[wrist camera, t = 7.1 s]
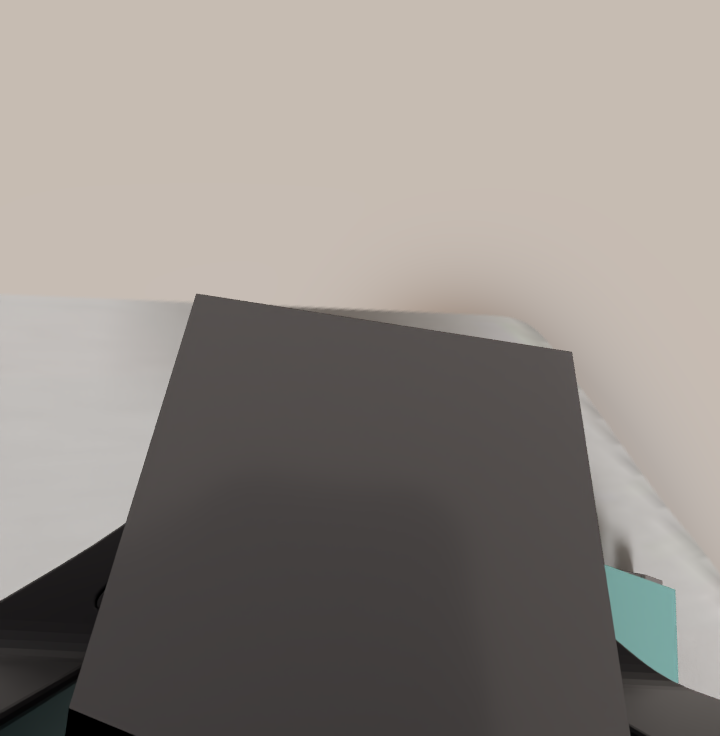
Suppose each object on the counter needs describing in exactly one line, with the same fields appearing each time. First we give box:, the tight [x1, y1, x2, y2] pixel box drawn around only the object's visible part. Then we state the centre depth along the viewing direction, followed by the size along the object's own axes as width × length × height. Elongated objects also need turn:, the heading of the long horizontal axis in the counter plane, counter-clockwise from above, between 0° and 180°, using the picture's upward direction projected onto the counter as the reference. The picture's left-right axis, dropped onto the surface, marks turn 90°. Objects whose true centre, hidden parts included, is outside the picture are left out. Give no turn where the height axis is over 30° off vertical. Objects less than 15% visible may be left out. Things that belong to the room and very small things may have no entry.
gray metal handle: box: [65, 294, 630, 736], centre depth 9 cm, size 7×7×14 cm
